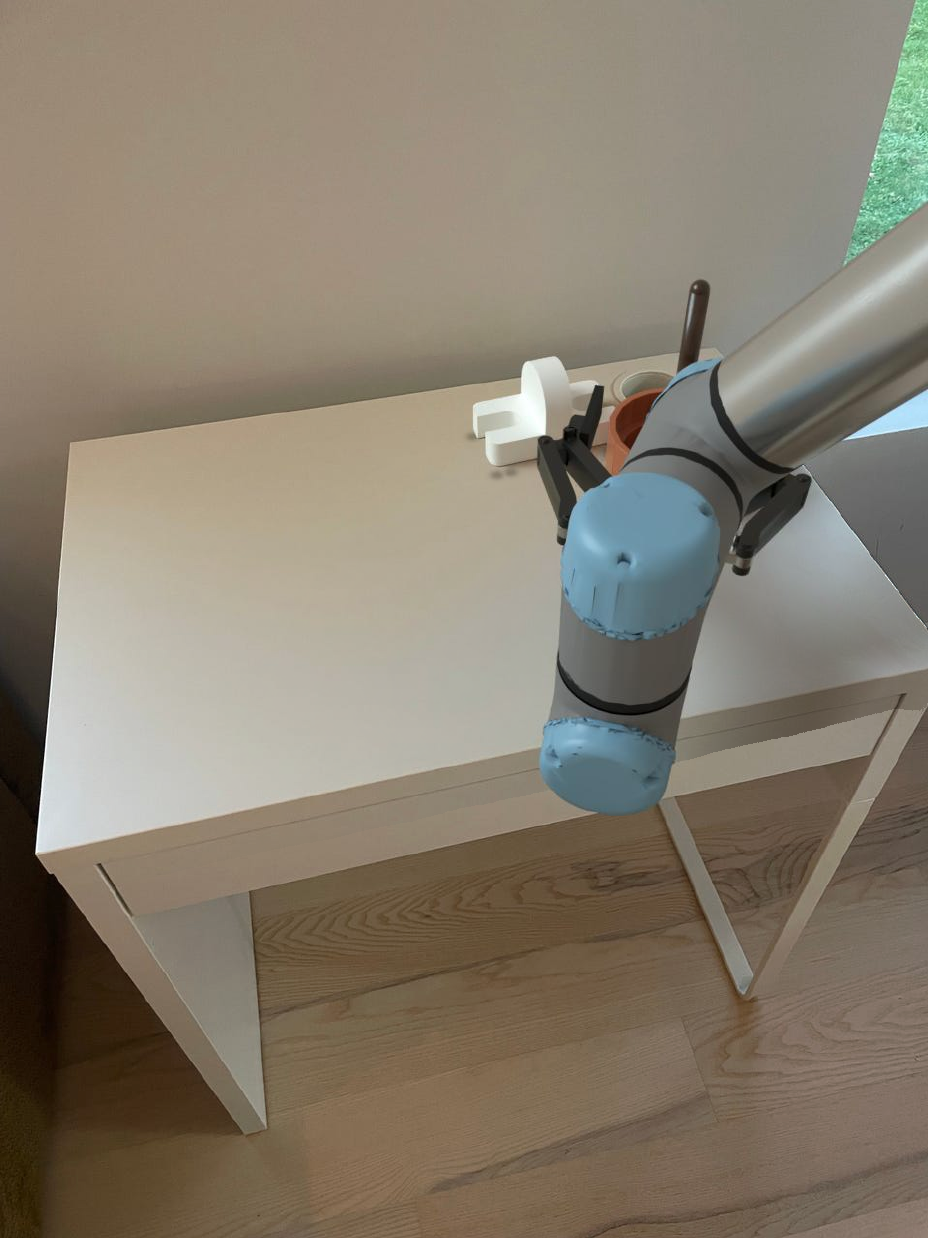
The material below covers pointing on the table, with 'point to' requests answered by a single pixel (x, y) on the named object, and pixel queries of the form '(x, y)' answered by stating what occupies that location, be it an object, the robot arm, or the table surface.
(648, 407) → the bowl
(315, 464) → the table surface
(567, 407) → the slotted bracket
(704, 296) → the dark brown post
